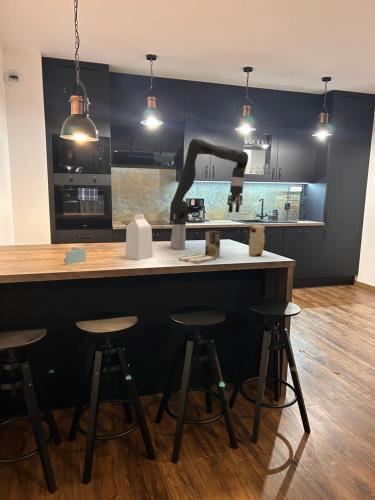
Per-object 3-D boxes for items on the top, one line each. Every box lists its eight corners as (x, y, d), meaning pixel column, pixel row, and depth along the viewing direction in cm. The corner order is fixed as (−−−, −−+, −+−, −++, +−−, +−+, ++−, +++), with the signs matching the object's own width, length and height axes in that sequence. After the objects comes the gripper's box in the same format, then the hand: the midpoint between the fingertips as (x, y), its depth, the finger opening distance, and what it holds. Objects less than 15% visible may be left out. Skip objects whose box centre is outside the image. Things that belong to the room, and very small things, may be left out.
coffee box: (219, 256, 226) (220, 230, 223) (219, 258, 220) (220, 232, 217) (205, 255, 227) (206, 230, 224) (204, 257, 221) (205, 231, 218)
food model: (249, 256, 226) (251, 225, 223) (247, 254, 233) (248, 224, 229) (264, 257, 227) (266, 225, 223) (261, 254, 234) (263, 224, 230)
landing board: (179, 260, 211) (179, 257, 211) (197, 256, 224) (197, 253, 223) (197, 264, 202) (197, 261, 202) (215, 259, 215) (215, 257, 214)
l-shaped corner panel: (73, 259, 208) (73, 246, 207) (85, 262, 201) (85, 249, 199) (54, 262, 199) (54, 249, 198) (66, 265, 192) (66, 252, 190)
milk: (138, 260, 207) (139, 215, 202) (125, 257, 214) (125, 214, 209) (152, 257, 216) (153, 214, 212) (139, 254, 223) (139, 213, 218)
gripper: (236, 185, 220) (233, 211, 223) (225, 184, 208) (222, 211, 211) (247, 186, 216) (244, 212, 219) (237, 185, 204) (233, 213, 207)
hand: (233, 212), depth 215 cm, fingers open, 8 cm apart
